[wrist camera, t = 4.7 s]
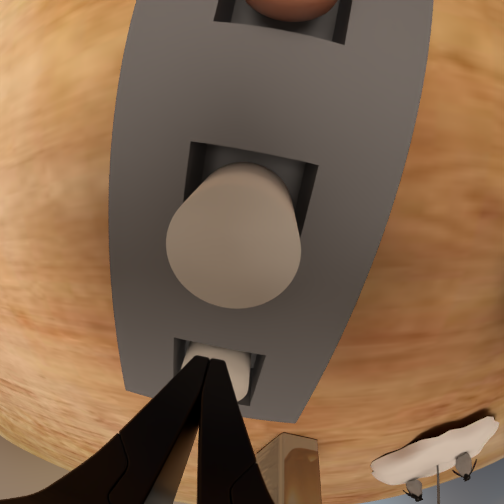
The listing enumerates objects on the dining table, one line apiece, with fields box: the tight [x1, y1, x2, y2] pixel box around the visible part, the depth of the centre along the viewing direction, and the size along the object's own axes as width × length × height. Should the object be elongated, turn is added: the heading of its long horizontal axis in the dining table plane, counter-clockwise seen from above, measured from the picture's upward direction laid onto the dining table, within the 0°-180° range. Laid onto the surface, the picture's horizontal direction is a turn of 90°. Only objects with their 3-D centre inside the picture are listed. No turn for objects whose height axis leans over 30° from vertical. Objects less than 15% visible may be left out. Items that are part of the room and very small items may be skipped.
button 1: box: [166, 162, 301, 309], centre depth 11 cm, size 4×4×4 cm
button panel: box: [109, 0, 433, 423], centre depth 14 cm, size 28×12×4 cm, turn 170°
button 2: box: [181, 341, 252, 402], centre depth 18 cm, size 4×4×4 cm
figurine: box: [371, 416, 499, 504], centre depth 22 cm, size 20×18×16 cm
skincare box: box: [256, 433, 322, 504], centre depth 22 cm, size 6×4×12 cm
